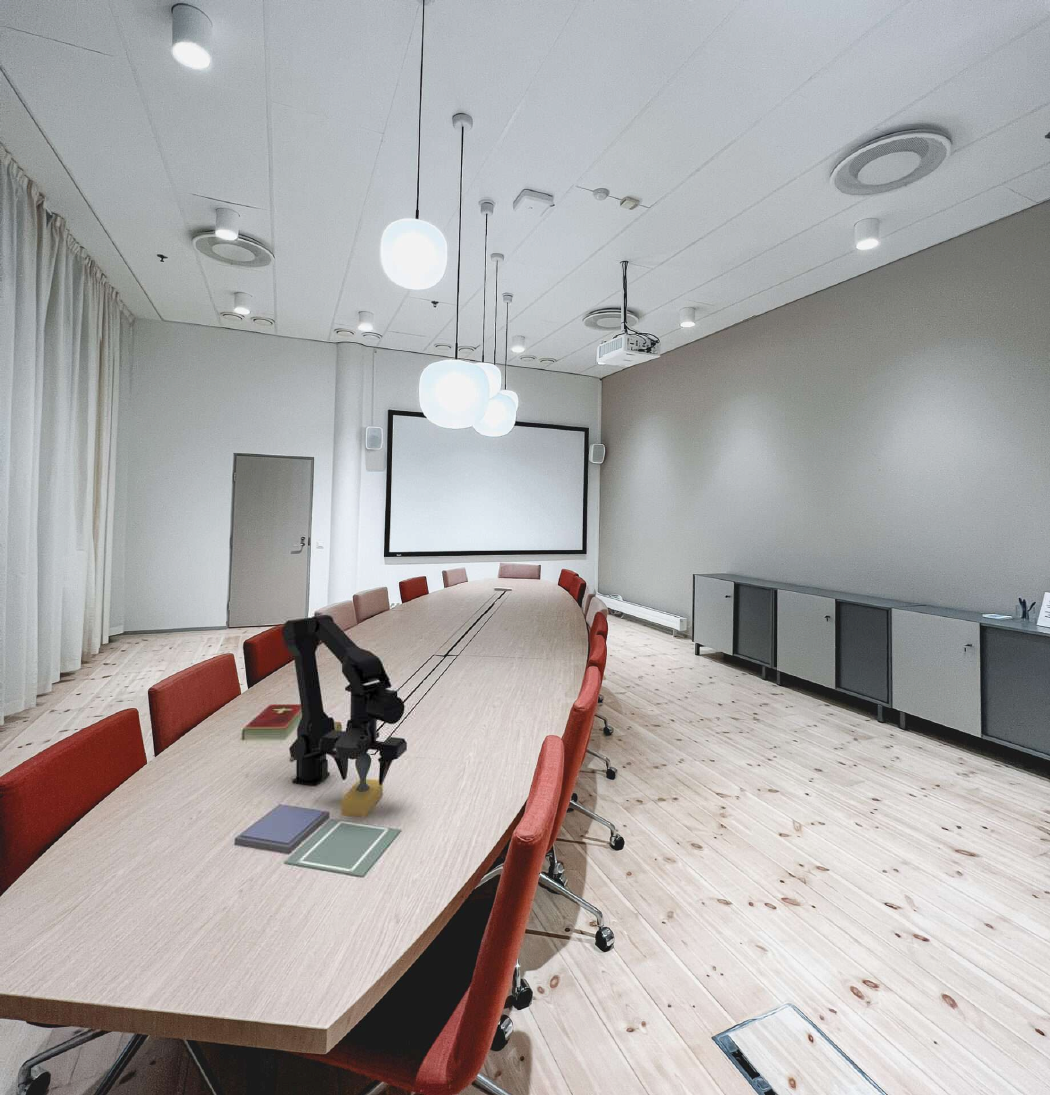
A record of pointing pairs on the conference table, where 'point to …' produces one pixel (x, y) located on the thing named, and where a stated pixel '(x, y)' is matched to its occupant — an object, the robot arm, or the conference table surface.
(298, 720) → the hardcover book
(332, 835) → the marking board
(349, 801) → the rubber stamp
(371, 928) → the conference table surface
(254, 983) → the conference table surface
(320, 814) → the ink pad
